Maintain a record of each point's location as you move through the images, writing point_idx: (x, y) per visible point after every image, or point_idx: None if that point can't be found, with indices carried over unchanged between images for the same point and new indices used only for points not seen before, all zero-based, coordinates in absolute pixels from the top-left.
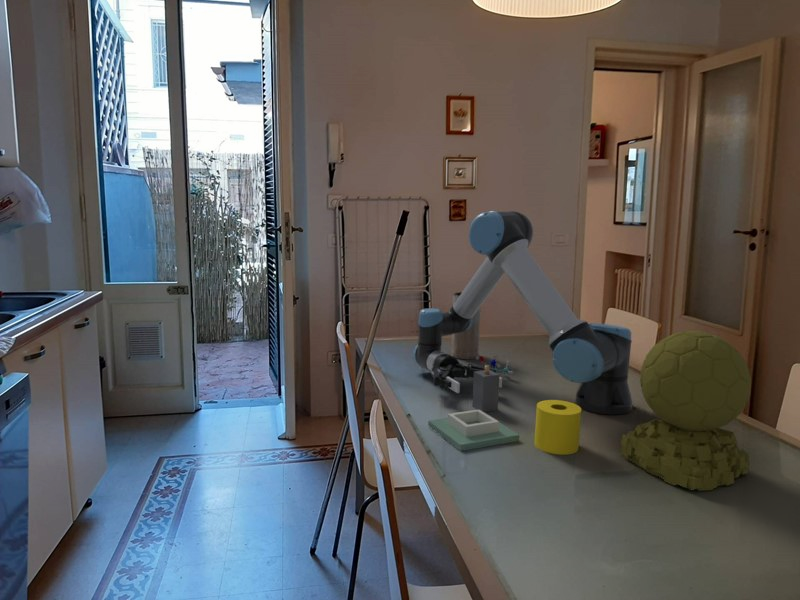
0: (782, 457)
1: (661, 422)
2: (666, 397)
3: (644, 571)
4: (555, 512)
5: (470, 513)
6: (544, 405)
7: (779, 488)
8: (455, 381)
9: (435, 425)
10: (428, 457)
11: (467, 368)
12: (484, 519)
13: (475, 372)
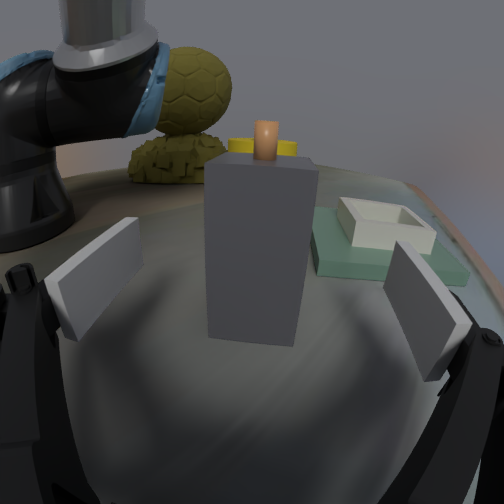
0: (105, 171)
1: (191, 136)
2: (230, 98)
3: (332, 169)
4: (351, 183)
5: (414, 197)
6: (279, 142)
7: None
8: (415, 257)
9: (453, 257)
10: (452, 234)
11: (43, 461)
12: (405, 193)
13: (316, 168)
